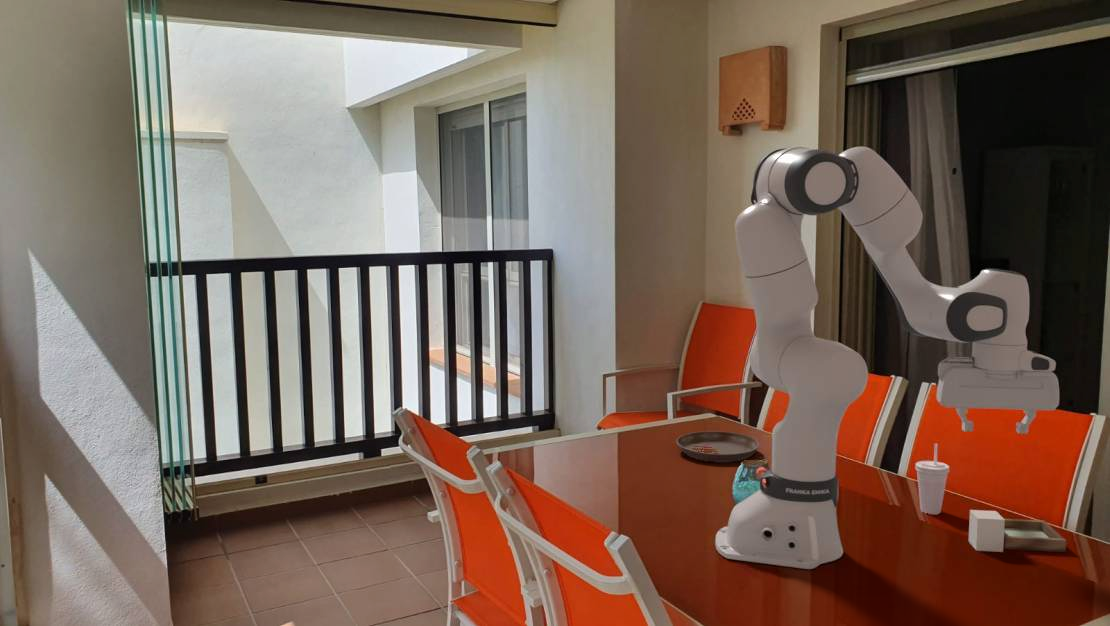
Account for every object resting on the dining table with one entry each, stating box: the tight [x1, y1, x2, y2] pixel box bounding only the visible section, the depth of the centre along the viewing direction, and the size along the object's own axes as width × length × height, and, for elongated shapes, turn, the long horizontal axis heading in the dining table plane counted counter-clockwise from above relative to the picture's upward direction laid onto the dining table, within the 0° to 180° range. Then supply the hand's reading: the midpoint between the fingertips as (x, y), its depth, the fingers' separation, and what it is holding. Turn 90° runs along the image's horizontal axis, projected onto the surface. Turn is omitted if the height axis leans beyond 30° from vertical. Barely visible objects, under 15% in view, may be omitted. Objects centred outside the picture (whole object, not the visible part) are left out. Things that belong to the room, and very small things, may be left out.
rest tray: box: [1003, 518, 1067, 553], centre depth 157 cm, size 10×10×2 cm
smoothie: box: [914, 443, 950, 515], centre depth 173 cm, size 6×6×14 cm
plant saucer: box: [676, 430, 760, 463], centre depth 218 cm, size 21×21×3 cm
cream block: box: [968, 509, 1006, 553], centre depth 155 cm, size 4×4×6 cm
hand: (994, 432), depth 157 cm, fingers open, 8 cm apart
